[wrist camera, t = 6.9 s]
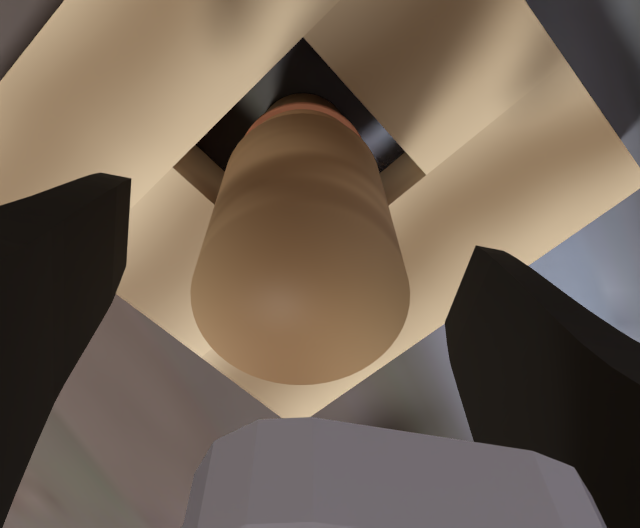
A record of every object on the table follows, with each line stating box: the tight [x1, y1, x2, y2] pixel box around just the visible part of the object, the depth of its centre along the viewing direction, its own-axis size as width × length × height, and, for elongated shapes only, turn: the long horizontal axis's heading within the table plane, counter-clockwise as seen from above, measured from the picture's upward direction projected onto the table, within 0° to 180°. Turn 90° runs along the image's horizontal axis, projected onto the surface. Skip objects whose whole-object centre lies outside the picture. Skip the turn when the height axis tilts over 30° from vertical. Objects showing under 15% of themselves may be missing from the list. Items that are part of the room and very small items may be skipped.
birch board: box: [0, 0, 640, 418], centre depth 17 cm, size 14×14×2 cm
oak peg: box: [190, 93, 410, 385], centre depth 15 cm, size 4×4×9 cm
